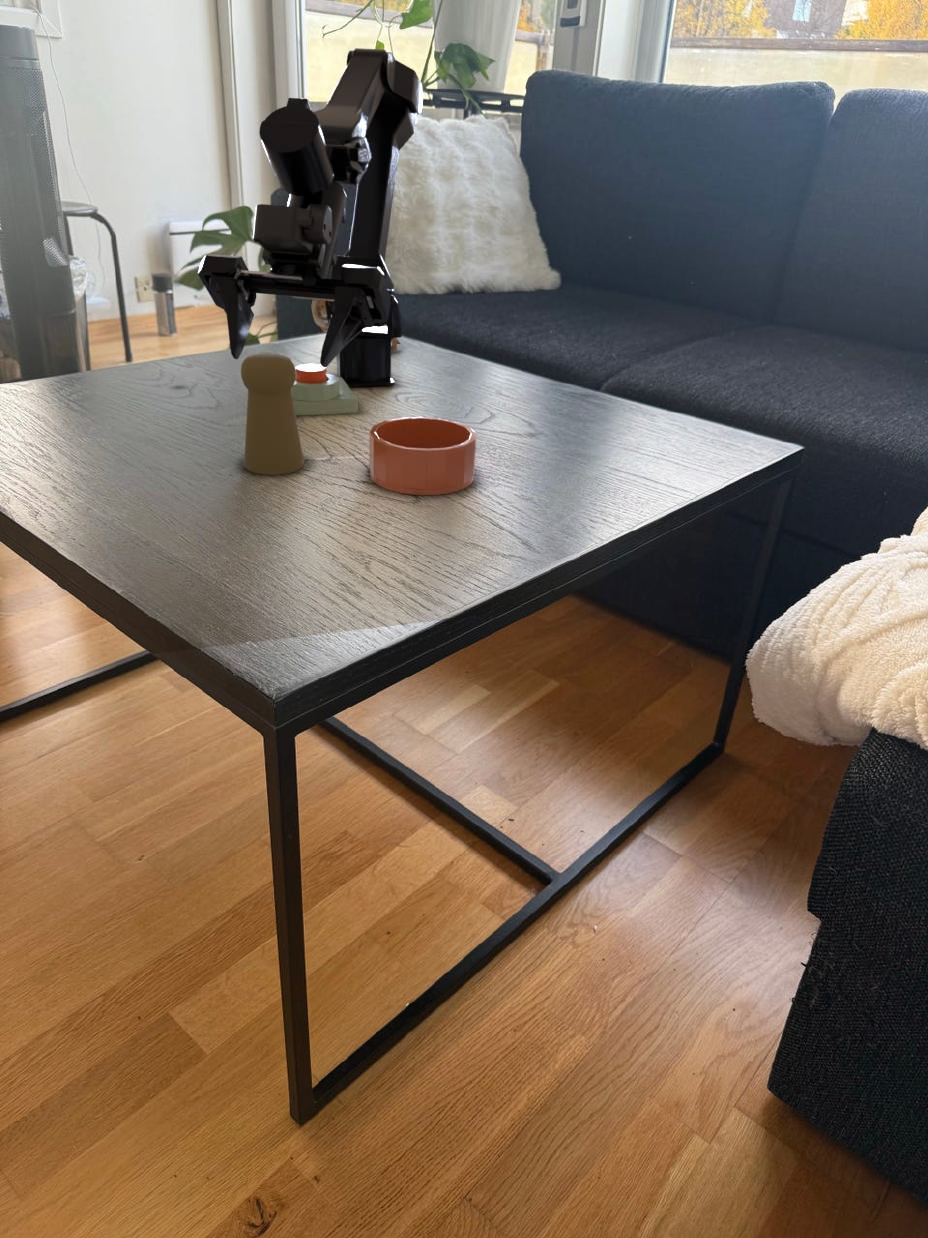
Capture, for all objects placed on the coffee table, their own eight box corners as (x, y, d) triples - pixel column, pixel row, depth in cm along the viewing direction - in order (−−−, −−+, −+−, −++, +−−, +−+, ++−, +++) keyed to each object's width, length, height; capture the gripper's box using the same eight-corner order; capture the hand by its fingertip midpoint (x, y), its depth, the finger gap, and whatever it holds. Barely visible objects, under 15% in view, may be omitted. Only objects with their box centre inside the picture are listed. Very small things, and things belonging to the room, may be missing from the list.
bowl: (456, 455, 95) (457, 414, 93) (487, 491, 87) (490, 446, 84) (360, 461, 92) (360, 419, 90) (383, 498, 84) (383, 453, 81)
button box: (342, 390, 115) (341, 362, 113) (358, 413, 107) (358, 384, 105) (264, 393, 112) (262, 365, 111) (274, 417, 104) (272, 387, 102)
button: (323, 377, 108) (323, 363, 108) (329, 385, 105) (328, 370, 105) (294, 378, 107) (293, 364, 107) (298, 386, 104) (298, 371, 104)
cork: (253, 477, 87) (244, 364, 81) (236, 458, 91) (227, 349, 86) (312, 470, 89) (307, 359, 84) (293, 451, 94) (288, 345, 88)
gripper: (196, 164, 86) (155, 302, 81) (384, 176, 83) (351, 319, 79) (235, 243, 96) (201, 369, 92) (402, 255, 94) (375, 386, 90)
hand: (278, 360), depth 88 cm, fingers open, 9 cm apart
